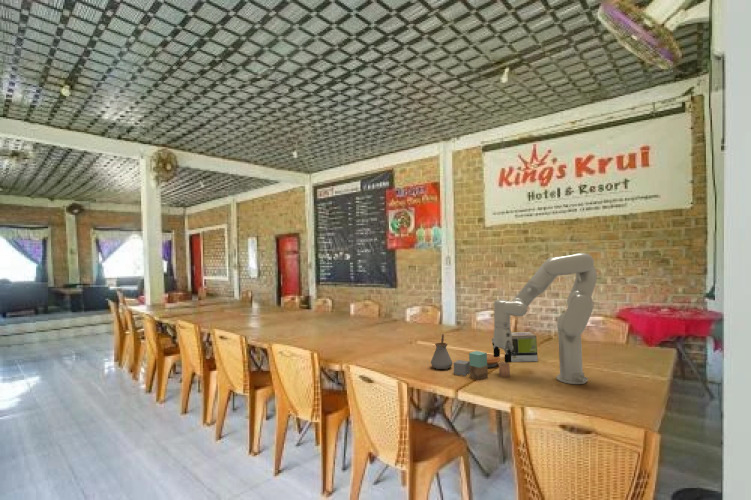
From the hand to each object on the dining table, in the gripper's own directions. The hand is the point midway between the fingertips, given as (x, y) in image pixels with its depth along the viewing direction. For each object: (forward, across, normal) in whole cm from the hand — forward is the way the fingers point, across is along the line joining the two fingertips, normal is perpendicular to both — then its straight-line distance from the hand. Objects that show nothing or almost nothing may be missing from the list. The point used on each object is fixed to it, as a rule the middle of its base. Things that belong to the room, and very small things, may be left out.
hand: (502, 359), depth 187 cm
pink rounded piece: (+8, -1, -1) cm, 8 cm away
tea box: (+8, +21, -26) cm, 35 cm away
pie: (+9, +19, -2) cm, 21 cm away
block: (+9, +9, +17) cm, 21 cm away
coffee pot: (+9, +26, +20) cm, 34 cm away
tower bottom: (+8, +1, +12) cm, 15 cm away
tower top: (+2, +1, +12) cm, 13 cm away
